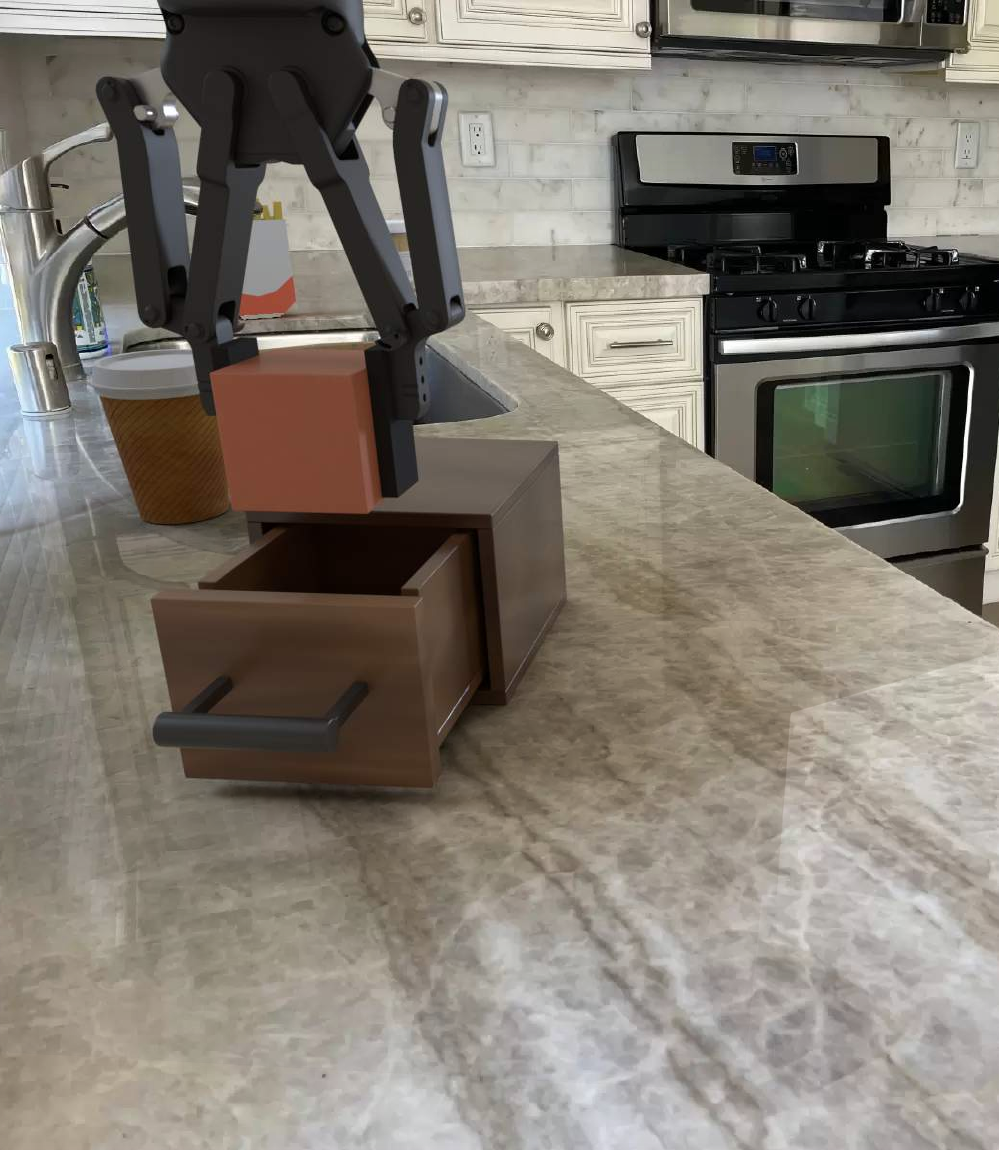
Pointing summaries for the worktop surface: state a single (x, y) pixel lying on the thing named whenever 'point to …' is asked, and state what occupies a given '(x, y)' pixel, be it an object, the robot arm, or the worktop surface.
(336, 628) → the drawer
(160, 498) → the disposable coffee cup
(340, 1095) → the worktop surface
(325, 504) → the block
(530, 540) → the cabinet
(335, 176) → the robot arm
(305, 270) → the worktop surface
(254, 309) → the french fries container
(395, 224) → the sprinkles bottle
